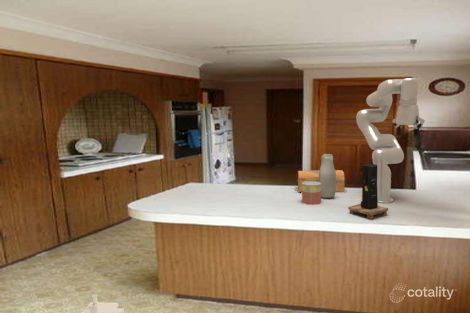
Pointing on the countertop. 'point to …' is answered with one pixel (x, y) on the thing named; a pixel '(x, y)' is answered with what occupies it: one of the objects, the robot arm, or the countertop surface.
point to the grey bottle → (327, 176)
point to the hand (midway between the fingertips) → (407, 136)
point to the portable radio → (369, 186)
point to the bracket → (102, 307)
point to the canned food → (311, 192)
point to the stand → (368, 210)
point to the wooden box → (314, 176)
